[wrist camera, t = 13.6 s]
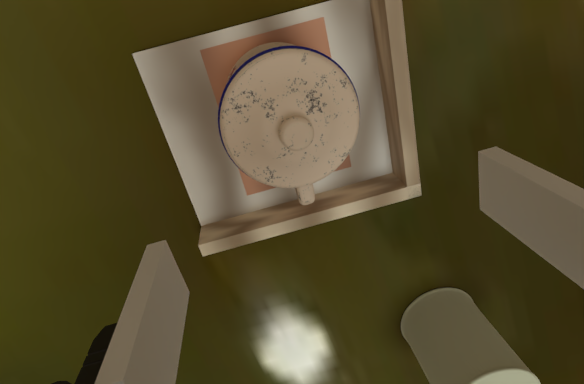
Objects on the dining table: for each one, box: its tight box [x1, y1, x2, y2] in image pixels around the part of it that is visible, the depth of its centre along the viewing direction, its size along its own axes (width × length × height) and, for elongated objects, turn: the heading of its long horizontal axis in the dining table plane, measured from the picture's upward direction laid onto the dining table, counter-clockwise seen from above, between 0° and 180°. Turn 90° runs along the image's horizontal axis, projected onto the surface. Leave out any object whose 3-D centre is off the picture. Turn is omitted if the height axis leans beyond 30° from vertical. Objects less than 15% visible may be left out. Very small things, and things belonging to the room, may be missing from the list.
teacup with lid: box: [218, 42, 360, 205], centre depth 28 cm, size 12×9×12 cm
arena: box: [132, 0, 421, 256], centre depth 32 cm, size 20×17×4 cm
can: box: [401, 287, 540, 384], centre depth 41 cm, size 9×9×12 cm
